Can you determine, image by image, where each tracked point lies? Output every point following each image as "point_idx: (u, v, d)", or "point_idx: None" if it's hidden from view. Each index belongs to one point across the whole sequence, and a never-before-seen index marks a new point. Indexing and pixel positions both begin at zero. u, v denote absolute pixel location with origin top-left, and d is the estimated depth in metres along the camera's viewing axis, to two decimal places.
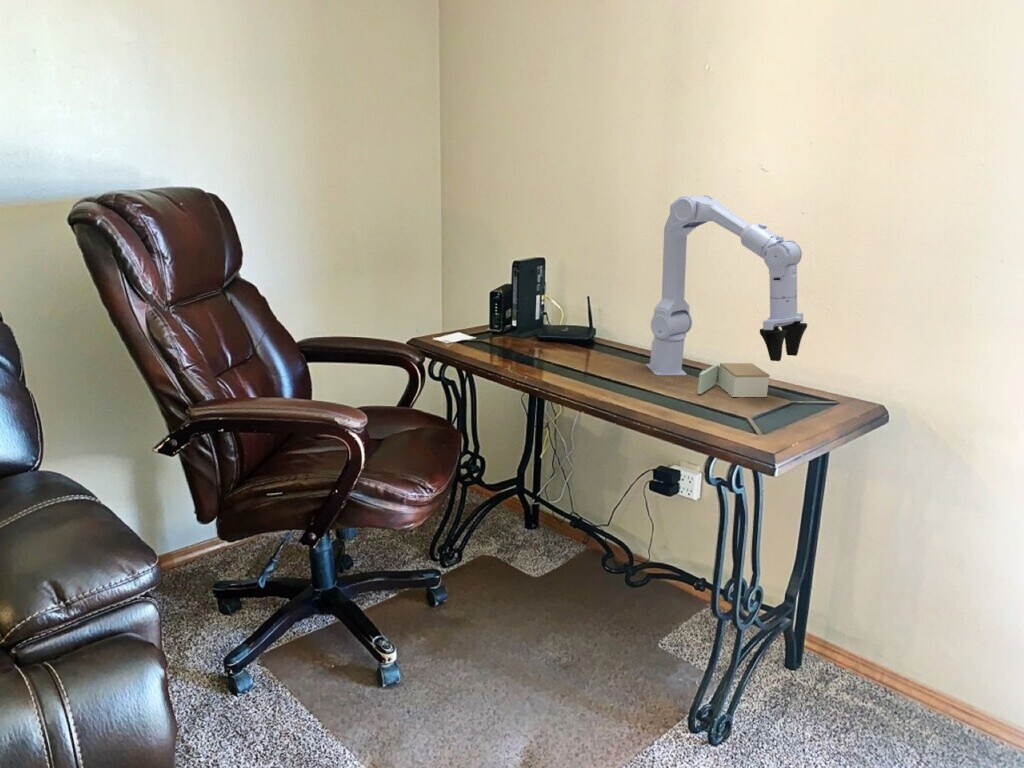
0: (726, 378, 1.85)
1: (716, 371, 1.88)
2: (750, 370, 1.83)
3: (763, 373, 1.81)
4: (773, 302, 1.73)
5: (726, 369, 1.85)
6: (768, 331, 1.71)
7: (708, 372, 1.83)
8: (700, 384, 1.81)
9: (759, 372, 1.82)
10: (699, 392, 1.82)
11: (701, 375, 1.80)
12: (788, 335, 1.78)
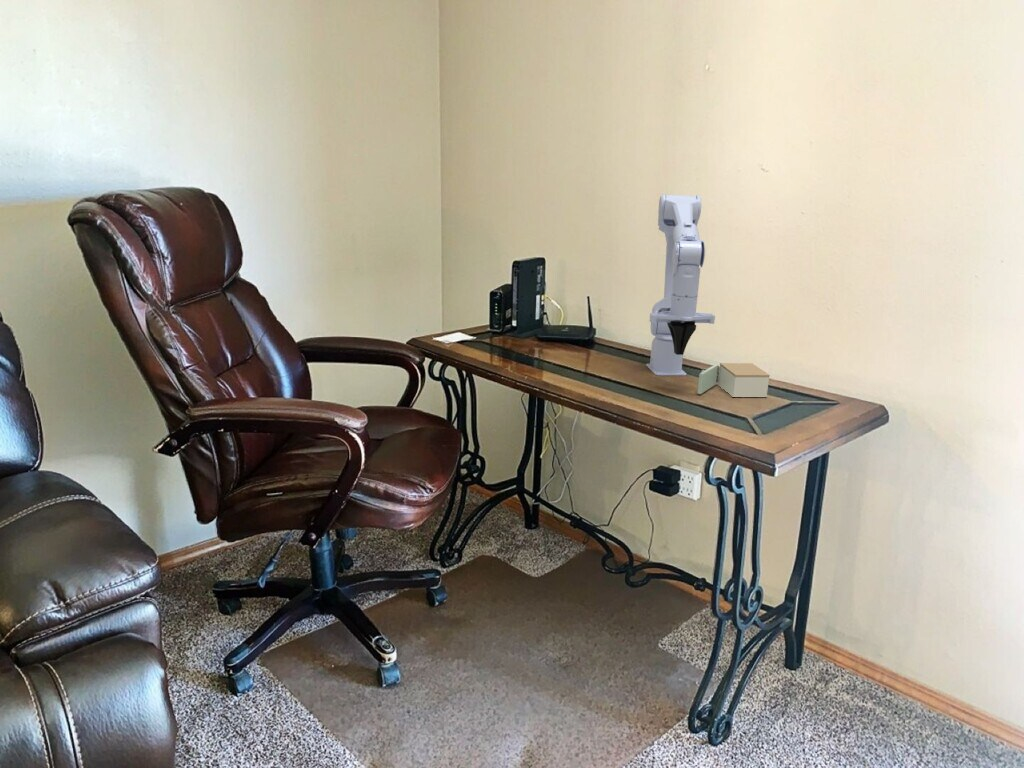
0: (726, 378, 1.85)
1: (716, 371, 1.88)
2: (750, 370, 1.83)
3: (763, 373, 1.81)
4: (671, 297, 1.77)
5: (726, 369, 1.85)
6: (669, 324, 1.78)
7: (708, 372, 1.83)
8: (700, 384, 1.81)
9: (759, 372, 1.82)
10: (699, 392, 1.82)
11: (701, 375, 1.80)
12: None
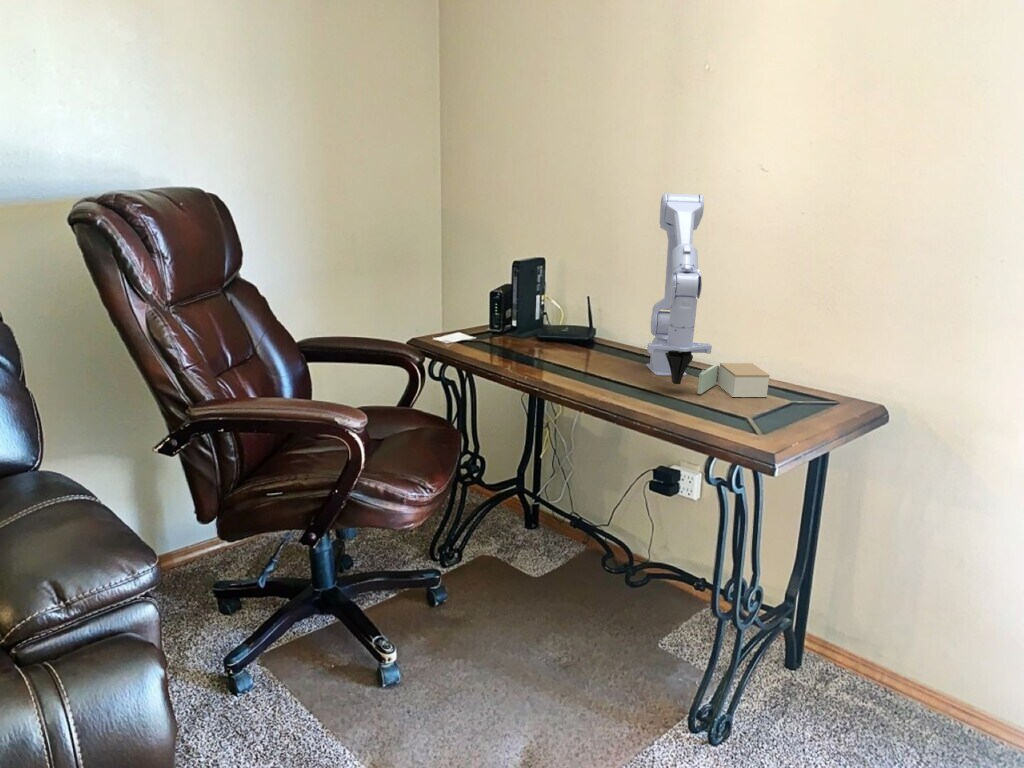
0: (726, 378, 1.85)
1: (716, 371, 1.88)
2: (750, 370, 1.83)
3: (763, 373, 1.81)
4: (668, 328, 1.79)
5: (726, 369, 1.85)
6: (667, 354, 1.80)
7: (708, 372, 1.83)
8: (700, 384, 1.81)
9: (759, 372, 1.82)
10: (699, 392, 1.82)
11: (701, 375, 1.80)
12: None
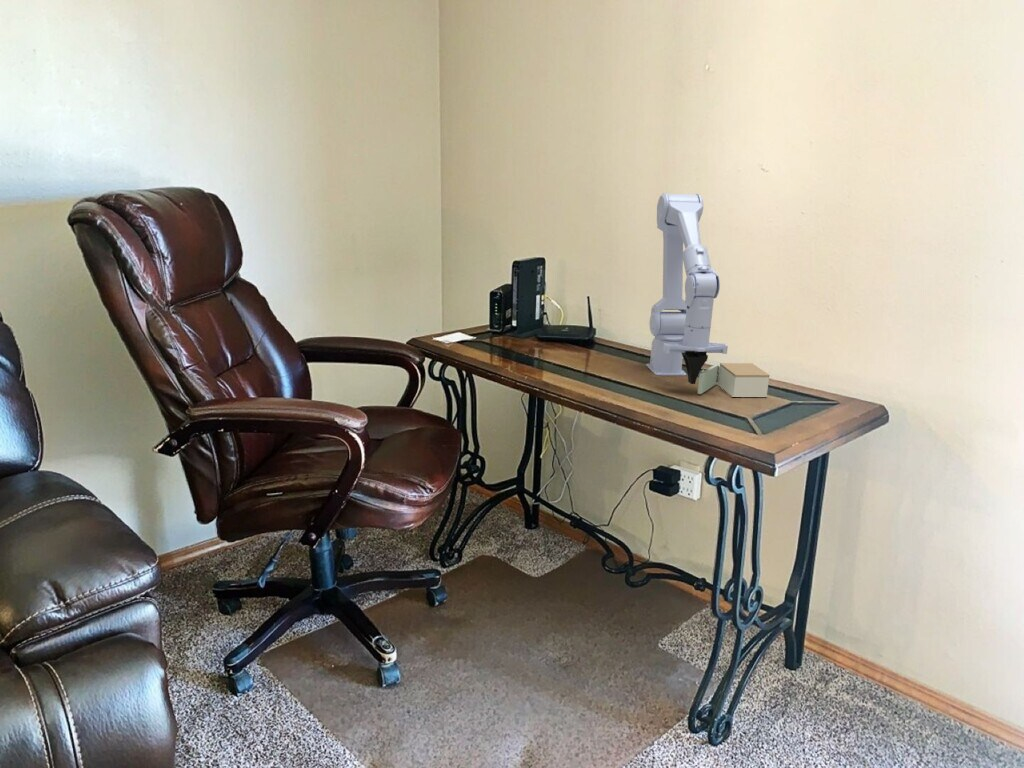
0: (726, 378, 1.85)
1: (716, 371, 1.88)
2: (750, 370, 1.83)
3: (763, 373, 1.81)
4: (684, 328, 1.80)
5: (726, 369, 1.85)
6: (683, 354, 1.81)
7: (708, 372, 1.83)
8: (700, 384, 1.81)
9: (759, 372, 1.82)
10: (699, 392, 1.82)
11: (701, 375, 1.80)
12: None
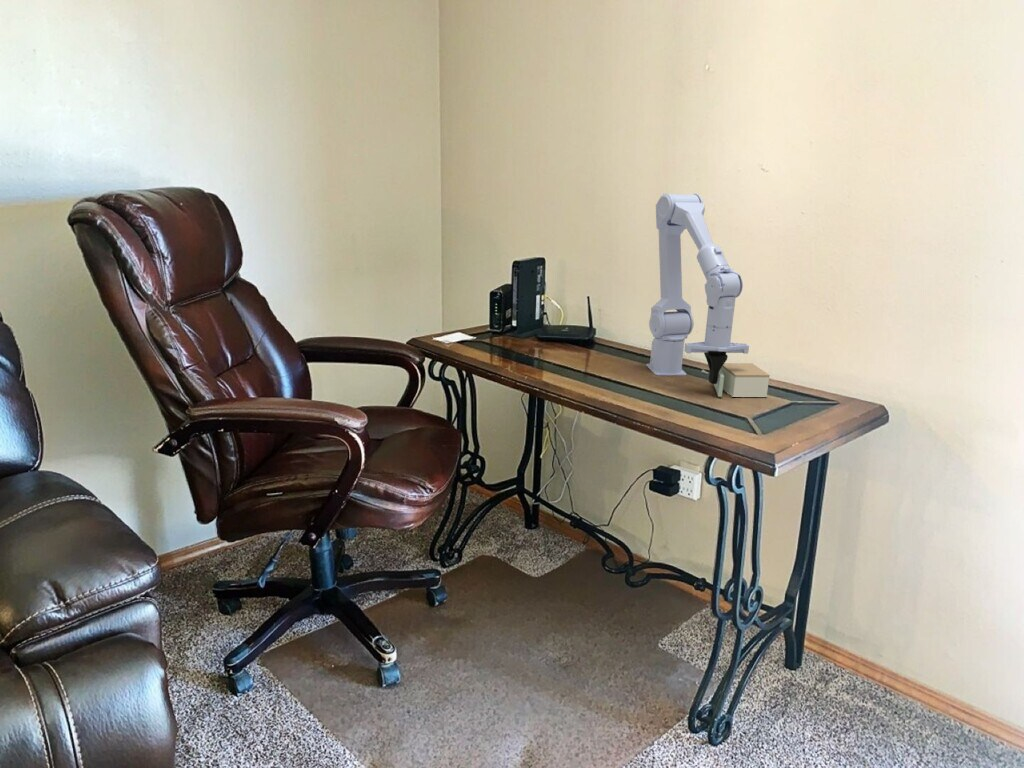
0: (726, 378, 1.85)
1: None
2: (750, 370, 1.83)
3: (763, 373, 1.81)
4: (706, 328, 1.80)
5: (726, 369, 1.85)
6: (706, 354, 1.81)
7: None
8: (721, 387, 1.79)
9: (759, 372, 1.82)
10: (720, 395, 1.80)
11: (722, 378, 1.79)
12: None
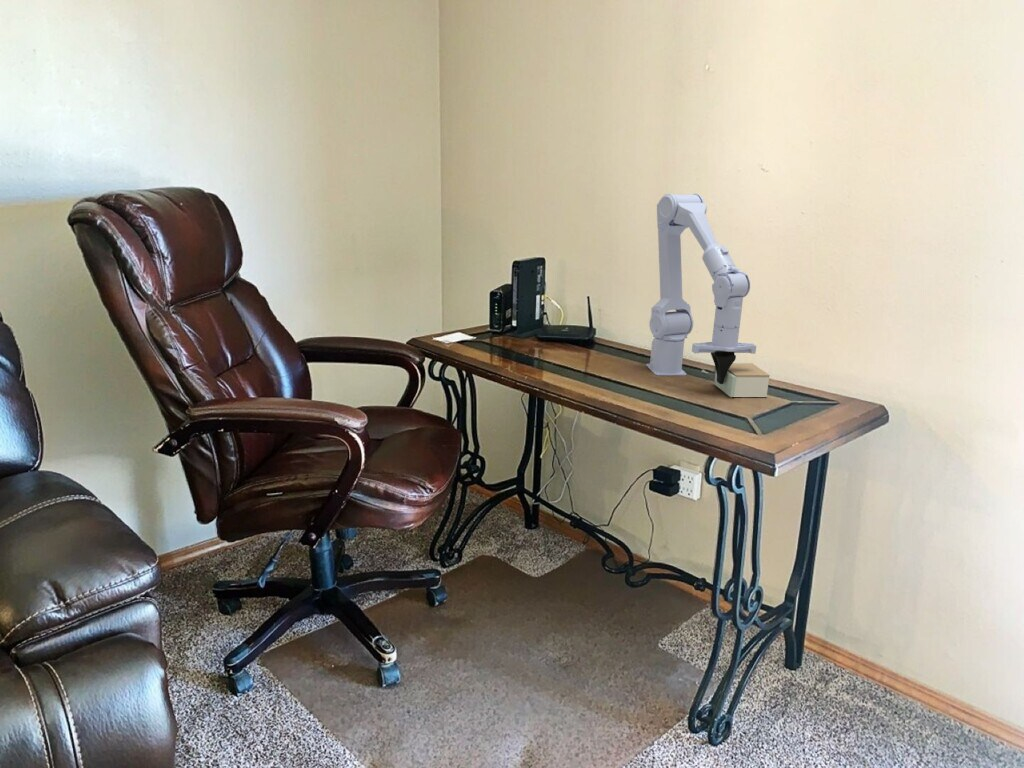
0: None
1: None
2: (750, 370, 1.83)
3: (763, 373, 1.81)
4: (713, 328, 1.80)
5: None
6: (713, 354, 1.81)
7: None
8: (733, 387, 1.79)
9: (759, 372, 1.82)
10: (732, 395, 1.80)
11: (735, 378, 1.79)
12: None
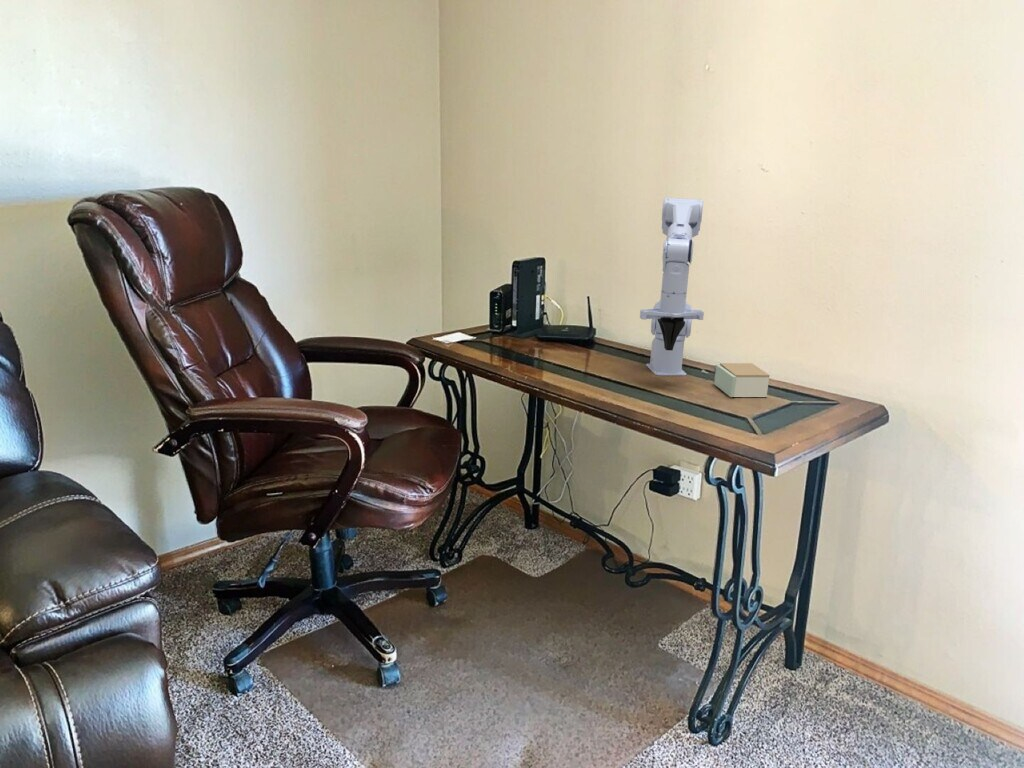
0: None
1: None
2: (750, 370, 1.83)
3: (763, 373, 1.81)
4: (661, 294, 1.81)
5: (726, 369, 1.85)
6: (659, 320, 1.82)
7: None
8: (733, 387, 1.79)
9: (759, 372, 1.82)
10: (732, 395, 1.80)
11: (735, 378, 1.79)
12: None
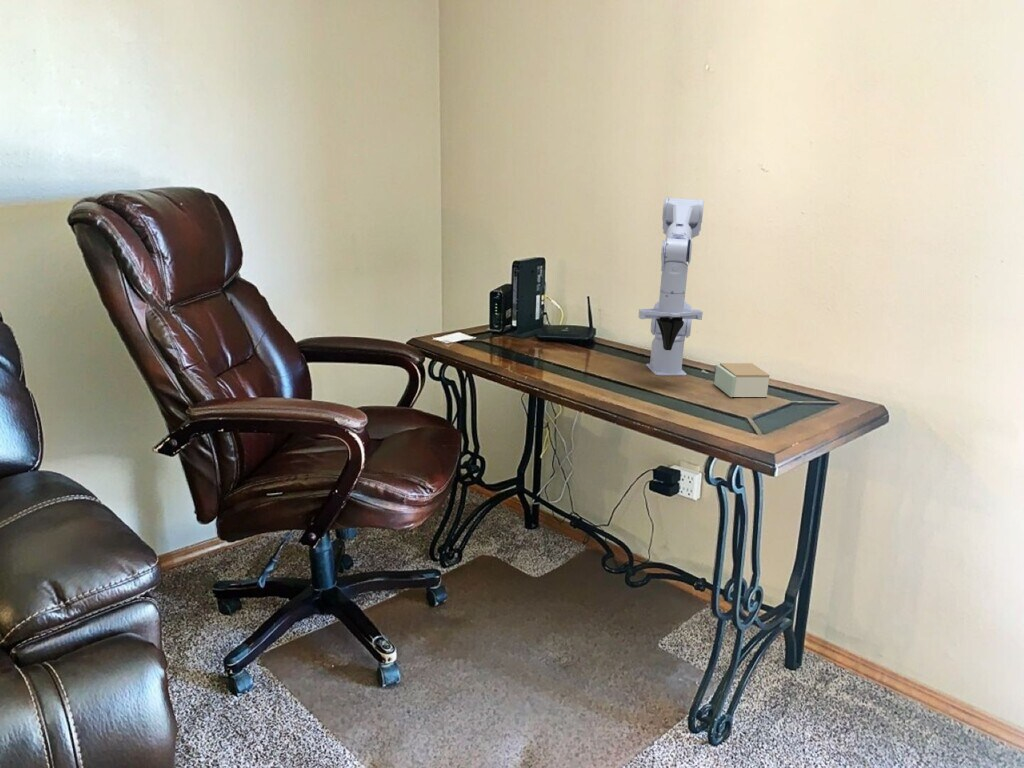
0: None
1: None
2: (750, 370, 1.83)
3: (763, 373, 1.81)
4: None
5: (726, 369, 1.85)
6: (658, 320, 1.82)
7: None
8: (733, 387, 1.79)
9: (759, 372, 1.82)
10: (732, 395, 1.80)
11: (735, 378, 1.79)
12: None
